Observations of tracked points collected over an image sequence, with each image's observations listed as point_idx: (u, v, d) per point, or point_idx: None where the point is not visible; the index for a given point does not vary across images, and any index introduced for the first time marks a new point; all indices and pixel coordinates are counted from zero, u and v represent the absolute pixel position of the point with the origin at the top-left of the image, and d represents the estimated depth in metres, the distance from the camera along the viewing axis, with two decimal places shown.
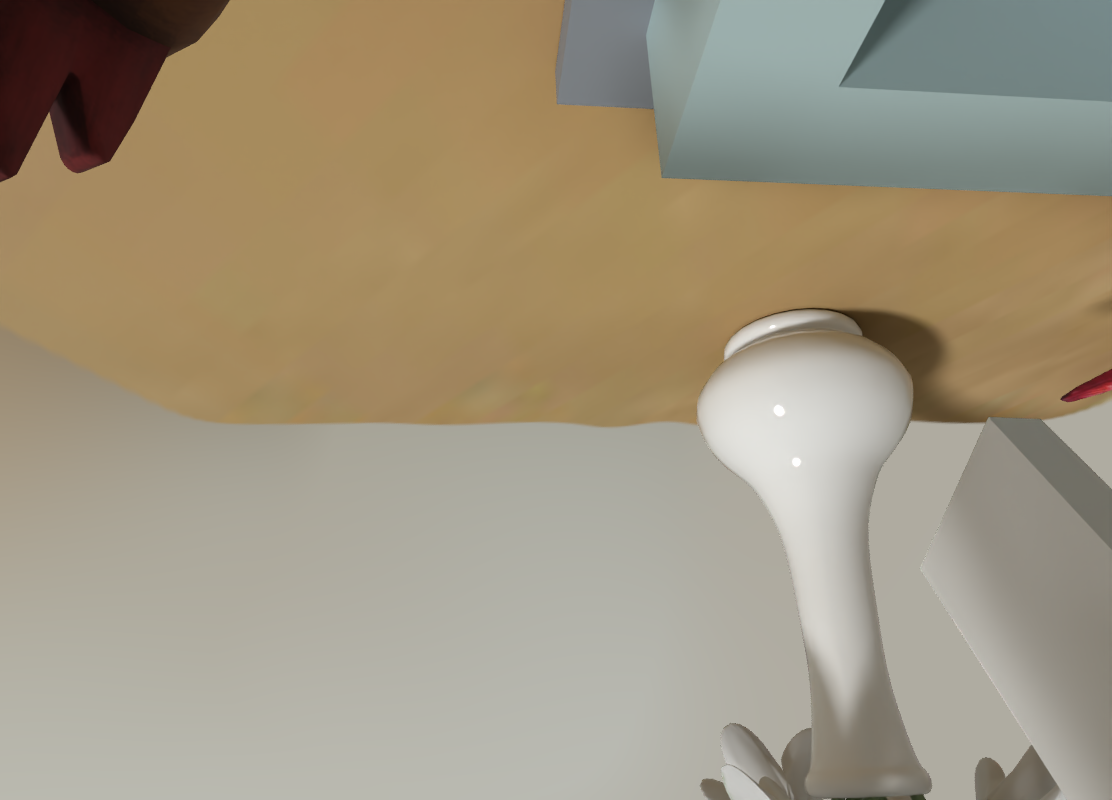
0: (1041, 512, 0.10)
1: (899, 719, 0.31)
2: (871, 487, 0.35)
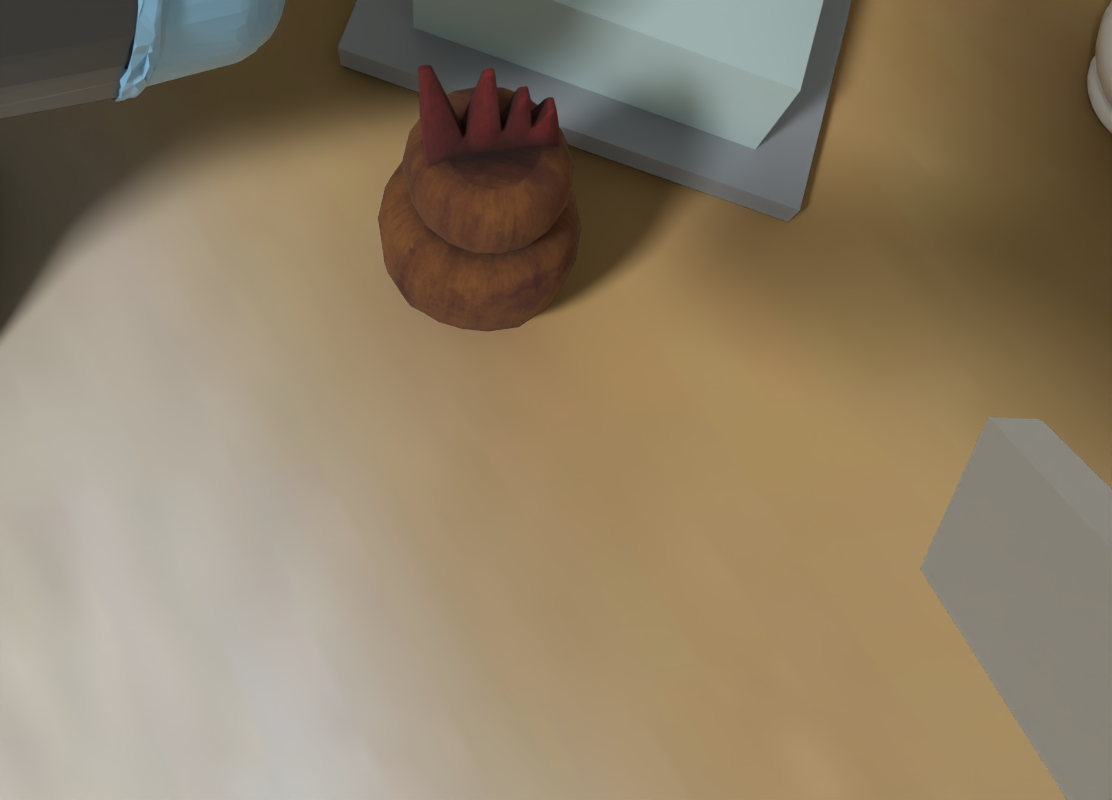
0: (1041, 513, 0.10)
1: None
2: None
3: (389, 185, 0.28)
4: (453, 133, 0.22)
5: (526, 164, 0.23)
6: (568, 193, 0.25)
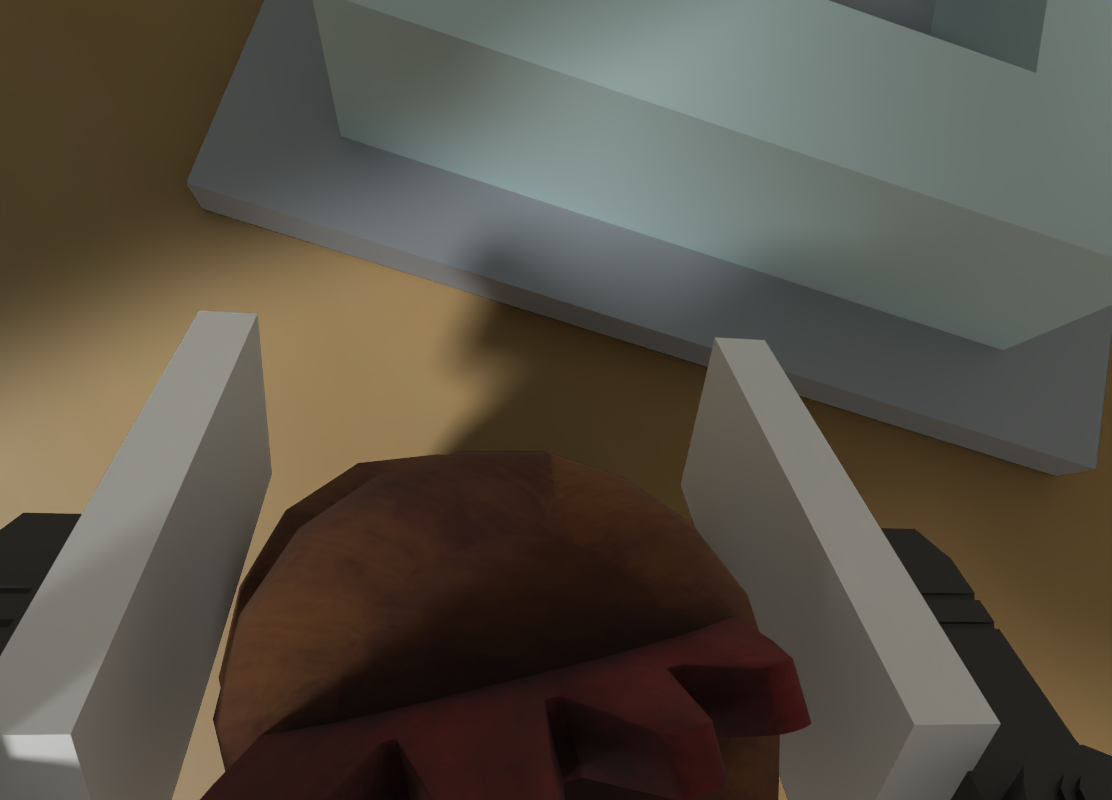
0: (736, 416, 0.11)
1: None
2: None
3: (237, 616, 0.10)
4: None
5: None
6: None
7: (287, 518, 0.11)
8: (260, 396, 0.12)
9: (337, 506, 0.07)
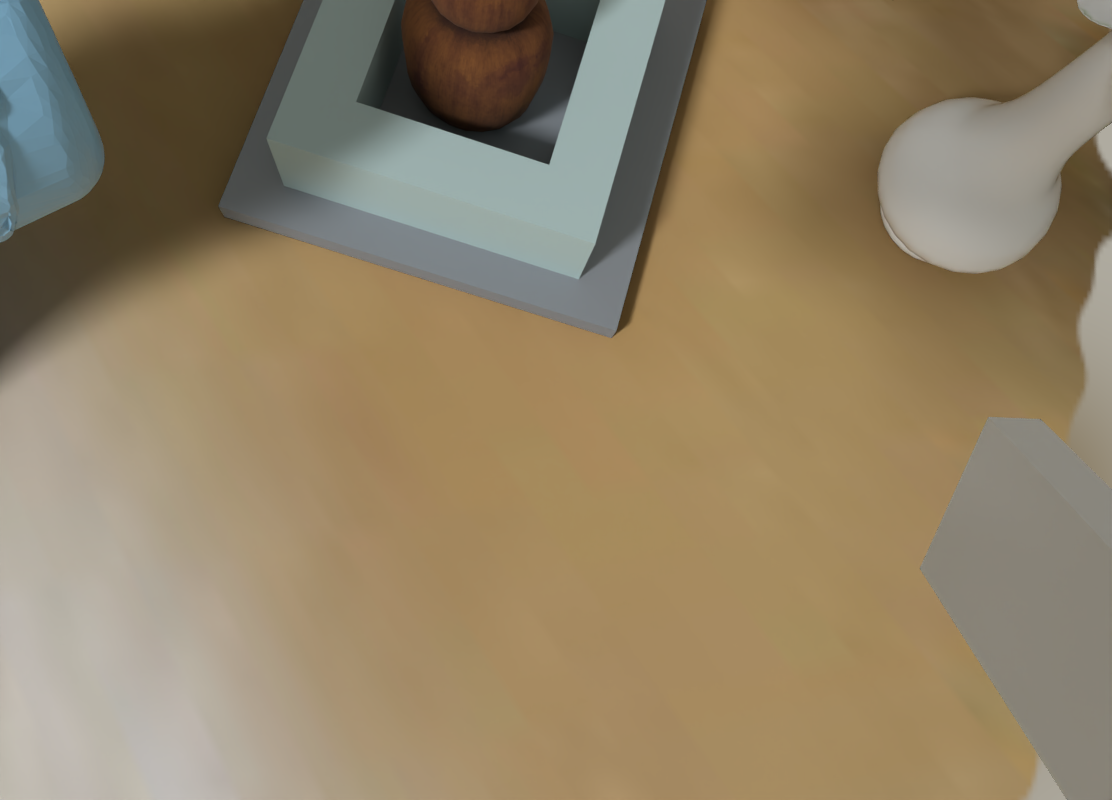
0: (1041, 513, 0.10)
1: None
2: (998, 104, 0.40)
3: None
4: None
5: None
6: None
7: None
8: None
9: None
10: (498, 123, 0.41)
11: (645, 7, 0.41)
